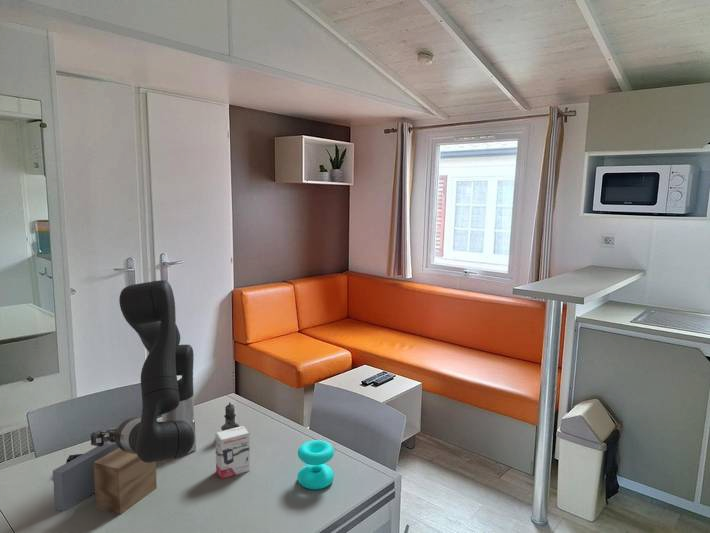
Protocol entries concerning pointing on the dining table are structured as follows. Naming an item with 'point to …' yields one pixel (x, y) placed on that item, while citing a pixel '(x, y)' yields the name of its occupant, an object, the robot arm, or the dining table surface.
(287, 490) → the dining table surface
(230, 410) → the dark grey figurine
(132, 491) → the walnut block
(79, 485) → the slate board
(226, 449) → the ink box
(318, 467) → the turquoise spool
